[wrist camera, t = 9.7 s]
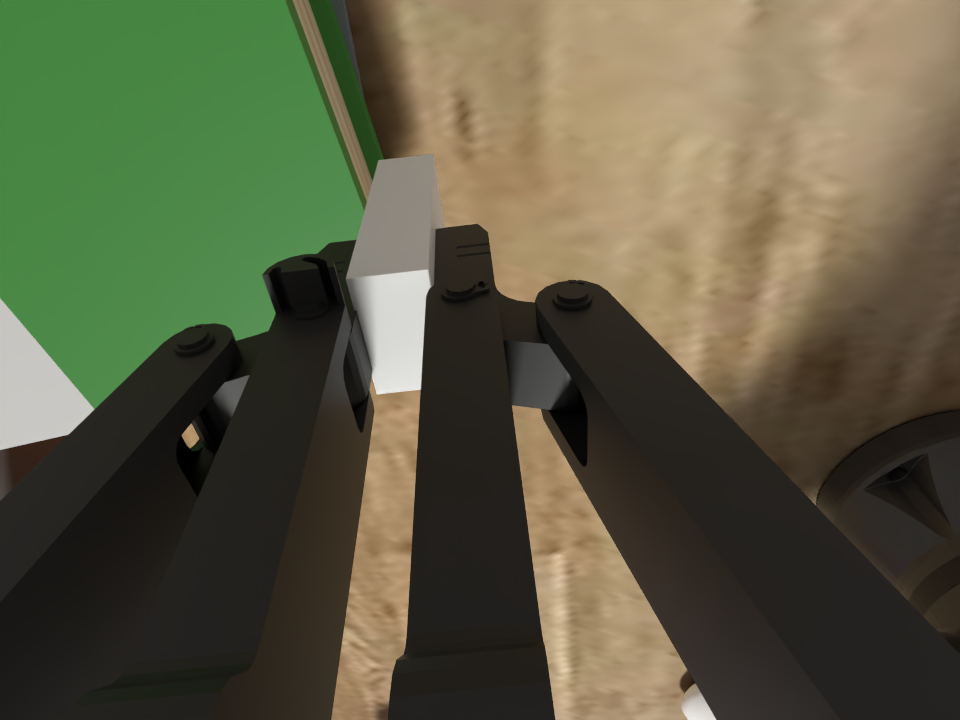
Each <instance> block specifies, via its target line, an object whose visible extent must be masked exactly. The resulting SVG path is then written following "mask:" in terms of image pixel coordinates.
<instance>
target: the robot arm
mask: <svg viewBox="0 0 960 720" xmlns="http://www.w3.org/2000/svg"><path fill="white" fill-rule="evenodd" d="M262 277H263V280H264V282H265V285H266V288H267V291H268V293H269V296H270V299H271V302H272V304H273V307H274V310H275V313H276V314H275V317H274V319H273V321H272V324H271V326H270V329H269V331H266V332H263V333H261V334H258V335H254V336H251V337H247V338H244V339H241V340H237V341H236V339H235V337H234V334H233V332H232V330H231V329H230V328H229V327H227V326H226V325H222V324H216V323H212V324H199V325H195V326H194V327H193V326H191V327H188V328H185V329H184V330H183V331H181V332H179V333H177V334H175V335H173V336H172V337H170V338H169V339H168V340H166V341H165V342H164V343H163V344H161V345H160V346H159V347H158V348H157V349H156V350H155V351H154V352H153V353H152V354H151V355H150V356H149V357H148V358H147V359H146V360H145V361H144V362H143V363H142V364H141V365H140V366H139V367H138V368H137V369H136V370H135V371H134V372H133V373H132V374H131V375H130V376H128V377H127V378H126V379H125V380H124V381H123V382H122V383H121V384H120V385H119V386H118V387H117V388H116V389H115V390H114V391H113V392H112V393H111V394H110V395H109V396H108V397H107V398H106V399H105V400H104V401H103V402H102V403H101V404H100V405H99V406H98V407H97V408H95V409H94V410H93V411H92V412H91V413H90V414H89V415H88V416H87V417H86V418H85V419H84V420H83V421H82V422H81V423H80V424H79V425H78V426H77V427H76V428H75V429H74V430H73V431H72V432H71V433H70V434H69V435H68V436H67V437H66V438H65V439H63V440H62V442H60V443H59V444H58V445H57V446H56V447H55V448H54V449H53V450H52V451H51V452H50V453H49V454H48V455H47V456H46V457H45V458H44V459H43V460H42V461H41V462H40V463H39V464H38V465H37V466H36V467H35V468H34V469H33V470H32V471H30V472H29V473H28V474H27V475H26V476H25V478H23V479H22V480H21V481H20V482H19V483H18V484H17V485H16V486H15V487H14V488H13V489H12V490H11V491H10V492H9V493H8V494H7V495H6V496H5V497H4V498H3V499H2V500H1V501H0V720H331V716H332V709H333V702H334V695H335V688H336V680H337V673H338V666H339V659H340V652H341V645H342V638H343V630H344V623H345V616H346V609H347V602H348V595H349V588H350V581H351V573H352V566H353V559H354V552H355V545H356V538H357V531H358V523H359V516H360V509H361V502H362V495H363V488H364V481H365V473H366V466H367V459H368V452H369V445H370V438H371V431H372V424H373V416H374V405H373V401H372V397H371V394H370V390H369V388H370V382H371V376H372V378H373V382H374V386H375V389H376V393H377V394H384V393H393V392H402V391H412V390H421V395H420V413H419V430H418V448H417V466H416V484H415V501H414V519H413V537H412V554H411V572H410V590H409V608H408V625H407V639H406V648H405V651H404V655H402V656H401V657H400V658H398V659H397V660H396V664H395V667H394V671H393V674H392V682H391V691H390V700H389V714H388V720H555V715H554V707H553V700H552V692H551V685H550V678H549V671H548V663H547V657H546V651H545V645H544V642H543V637H542V631H541V624H540V616H539V608H538V601H537V593H536V586H535V578H534V571H533V563H532V555H531V548H530V540H529V533H528V525H527V518H526V510H525V502H524V495H523V487H522V480H521V472H520V464H519V457H518V449H517V442H516V434H515V427H514V419H513V411H512V405H515V406H523V407H531V408H539V409H541V412H542V415H543V419H544V421H545V423H546V425H547V426H548V428H549V430H550V431H551V433H552V435H553V437H554V438H555V440H556V442H557V444H558V445H559V447H560V449H561V451H562V452H563V454H564V456H565V458H566V459H567V461H568V463H569V465H570V466H571V468H572V470H573V471H574V473H575V475H576V477H577V478H578V480H579V482H580V484H581V485H582V487H583V489H584V491H585V492H586V494H587V496H588V498H589V499H590V501H591V503H592V504H593V506H594V508H595V510H596V511H597V513H598V515H599V517H600V518H601V520H602V522H603V524H604V525H605V527H606V529H607V531H608V532H609V534H610V536H611V538H612V539H613V541H614V543H615V544H616V546H617V548H618V550H619V551H620V553H621V555H622V557H623V558H624V560H625V562H626V564H627V565H628V567H629V569H630V571H631V572H632V574H633V576H634V578H635V579H636V581H637V583H638V584H639V586H640V588H641V590H642V591H643V593H644V595H645V597H646V598H647V600H648V602H649V604H650V605H651V607H652V609H653V611H654V612H655V614H656V616H657V617H658V619H659V621H660V623H661V624H662V626H663V628H664V630H665V631H666V633H667V635H668V637H669V638H670V640H671V642H672V644H673V645H674V647H675V649H676V651H677V652H678V654H679V656H680V657H681V659H682V661H683V663H684V664H685V666H686V668H687V670H688V671H689V673H690V675H691V677H692V678H693V680H694V682H695V684H696V685H697V687H698V689H699V690H700V692H701V694H702V696H703V697H704V699H705V701H706V703H707V704H708V706H709V708H710V710H711V711H712V713H713V715H714V717H715V718H716V720H960V411H954V412H947V413H942V414H937V415H932V416H928V417H925V418H921V419H918V420H915V421H912V422H909V423H907V424H904V425H902V426H899V427H897V428H895V429H893V430H890V431H888V432H886V433H884V434H882V435H880V436H879V437H877V438H875V439H873V440H872V441H870V442H869V443H867V444H865V445H864V446H862V447H861V448H860V449H858V450H857V451H855V452H854V453H853V454H852V455H850V456H849V457H848V458H847V459H846V460H845V461H844V462H842V463H841V464H840V465H839V466H838V467H837V468H836V470H835V471H834V472H833V473H832V474H831V475H830V477H829V478H828V479H827V481H826V483H825V484H824V486H823V488H822V490H821V492H820V494H819V497H818V501H817V506H816V505H815V504H814V503H813V502H812V501H811V500H810V499H809V498H808V497H807V496H806V495H805V494H804V493H803V492H802V491H801V490H800V489H799V488H798V487H797V486H796V485H795V484H794V483H793V482H792V481H791V480H790V479H789V478H788V477H787V475H786V474H785V473H784V472H783V471H782V470H781V469H780V468H779V467H778V466H777V465H776V464H775V463H774V462H773V461H772V460H771V459H770V458H769V457H768V456H767V455H766V454H765V453H764V452H763V451H762V450H761V449H760V448H759V447H758V446H757V445H756V443H755V442H754V441H753V440H752V439H751V438H750V437H749V436H748V435H747V434H746V433H745V432H744V431H743V430H742V429H741V428H740V427H739V426H738V425H737V424H736V423H735V422H734V421H733V420H732V419H731V418H730V417H729V416H728V415H727V414H726V413H725V412H724V410H723V409H722V408H721V407H720V406H719V405H718V404H717V403H716V402H715V401H714V400H713V399H712V398H711V397H710V396H709V395H708V394H707V393H706V392H705V391H704V390H703V389H702V388H701V387H700V386H699V385H698V384H697V383H696V382H695V381H694V380H693V379H692V377H691V376H690V375H689V374H688V373H687V372H686V371H685V370H684V369H683V368H682V367H681V366H680V365H679V364H678V363H677V362H676V361H675V360H674V359H673V358H672V357H671V356H670V355H669V354H668V353H667V352H666V351H665V350H664V349H663V348H662V347H661V346H660V344H659V343H658V342H657V341H656V340H655V339H654V338H653V337H652V336H651V335H650V334H649V333H648V332H647V331H646V330H645V329H644V328H643V327H642V326H641V325H640V324H639V323H638V322H637V321H636V320H635V319H634V318H633V317H632V316H631V315H630V314H629V313H628V311H627V310H626V309H625V308H624V307H623V306H622V305H621V304H620V303H619V302H618V301H617V300H616V299H615V298H614V297H613V296H612V295H611V294H610V293H609V292H608V291H607V290H606V289H604V288H603V287H601V286H600V285H598V284H594V283H591V282H587V281H582V280H578V281H576V280H568V281H564V282H558V283H555V284H552V285H550V286H547V287H545V288H544V289H543V290H542V291H540V292H539V293H538V295H537V297H536V300H535V303H534V302H524V301H517V300H514V299H510V298H508V297H506V296H504V295H502V294H501V293H500V292H499V291H498V290H497V289H496V286H495V282H494V274H493V267H492V260H491V252H490V245H489V237H488V232H487V231H486V230H484V229H483V228H482V227H481V226H480V225H478V224H473V225H464V226H456V227H447V228H445V226H444V219H443V212H442V205H441V199H440V192H439V185H438V178H437V172H436V165H435V158H434V154H427V155H418V156H410V157H401V158H393V159H385V160H378V164H377V168H376V171H375V175H374V178H373V182H372V186H371V189H370V193H369V197H368V200H367V204H366V207H365V211H364V215H363V218H362V222H361V226H360V229H359V233H358V236H357V240H349V241H341V242H332V243H329V244H328V245H326V246H325V247H324V248H323V249H322V250H321V251H320V252H318V253H317V254H303V255H298V256H293V257H290V258H287V259H284V260H282V261H279V262H277V263H275V264H274V265H272V266H270V267H269V268H267V270H266V271H265V272H264V273H263V274H262ZM191 423H192V425H193V427H194V429H195V431H196V433H197V434H198V436H199V438H200V439H199V440H198V441H197V443H196V444H195V445H194V446H193V447H192V448H189V447H187V445H186V443H185V442H184V440H183V438H182V434H183V432H184V431H185V430H186V429H187V428H188V426H189V425H190V424H191Z"/></svg>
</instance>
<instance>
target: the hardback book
mask: <svg viewBox="0 0 960 720" xmlns="http://www.w3.org/2000/svg"><path fill="white" fill-rule="evenodd" d="M378 160H384V157H383V154H382V151H381V148H380V145H379V142H378V139H377V136H376V133H375V130H374V127H373V124H372V121H371V118H370V115H369V112H368V109H367V106H366V103H365V100H364V97H363V94H362V91H361V88H360V85H359V82H358V79H357V76H356V73H355V70H354V67H353V64H352V61H351V58H350V55H349V52H348V49H347V46H346V43H345V40H344V37H343V34H342V31H341V28H340V25H339V22H338V19H337V16H336V13H335V10H334V7H333V4H332V1H331V0H0V450H1V449H6V448H10V447H14V446H19V445H23V444H28V443H32V442H36V441H41V440H46V439H50V438H55V437H59V436H64V435H68V434H70V433H71V432H72V431H73V430H74V429H75V428H76V427H77V426H78V425H79V424H80V423H81V422H82V421H83V420H84V419H85V418H86V417H87V416H88V415H89V414H90V413H91V412H92V411H93V410H94V409H95V408H97V407H98V406H99V405H100V404H101V403H102V402H103V401H104V400H105V399H106V398H107V397H108V396H109V395H110V394H111V393H112V392H113V391H114V390H115V389H116V388H117V387H118V386H119V385H120V384H121V383H122V382H123V381H124V380H125V379H126V378H127V377H128V376H130V375H131V374H132V373H133V372H134V371H135V370H136V369H137V368H138V367H139V366H140V365H141V364H142V363H143V362H144V361H145V360H146V359H147V358H148V357H149V356H150V355H151V354H152V353H153V352H154V351H155V350H156V349H157V348H158V347H159V346H160V345H161V344H163V343H164V342H165V341H166V340H168V339H169V338H170V337H172V336H173V335H175V334H177V333H179V332H181V331H183V330H184V329H185V328H188V327H191V326H193V327H194V326H195V325H199V324H212V323H216V324H222V325H226V326H227V327H229V328H230V329H231V330H232V332H233V334H234V337H235V339H236V341H237V340H241V339H244V338H247V337H251V336H254V335H258V334H261V333H263V332H266V331H269V329H270V326H271V324H272V321H273V319H274V317H275V314H276V313H275V310H274V307H273V304H272V302H271V299H270V296H269V293H268V291H267V288H266V285H265V282H264V280H263V277H262V274H263V273H264V272H265V271H266V270H267V268H269V267H270V266H272V265H274V264H275V263H277V262H279V261H282V260H284V259H287V258H290V257H293V256H298V255H303V254H317V253H318V252H320V251H321V250H322V249H323V248H324V247H325V246H326V245H328V244H329V243H332V242H341V241H349V240H357V236H358V233H359V229H360V226H361V222H362V218H363V215H364V211H365V207H366V204H367V200H368V197H369V193H370V189H371V186H372V182H373V178H374V175H375V171H376V168H377V164H378Z"/></svg>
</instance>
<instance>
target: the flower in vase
mask: <svg viewBox="0 0 960 720" xmlns="http://www.w3.org/2000/svg"><path fill="white" fill-rule="evenodd" d="M681 709H682V711H683V713H684V714H685V716H686V717H687V719H688V720H716V718H715V717H714V715H713V713H712V711H711V710H710V708H709V706H708V704H707V703H706V701H705V699H704V697H703V696H702V694H701V692H700V690H699V689H698V687H697V685H696V684H694V685H692V686H691V687H690V688H689V689H688V690H687V691H686V692H685V694H684V696H683V699H682V703H681Z"/></svg>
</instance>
